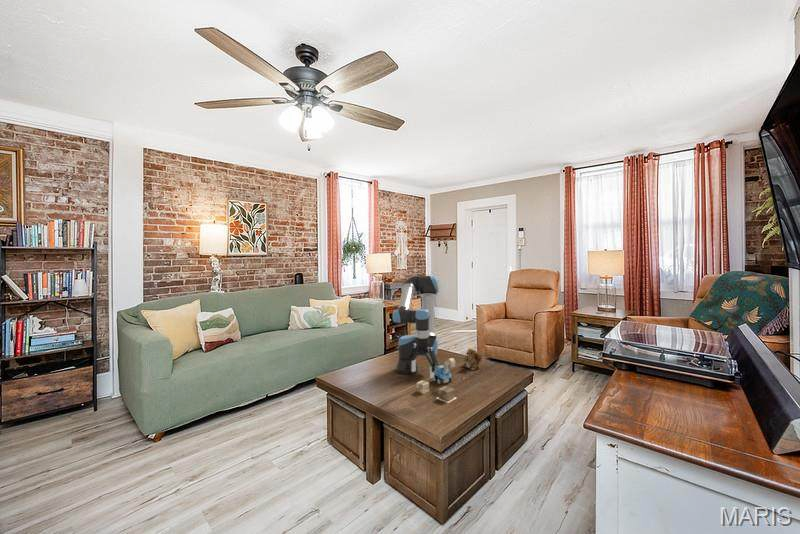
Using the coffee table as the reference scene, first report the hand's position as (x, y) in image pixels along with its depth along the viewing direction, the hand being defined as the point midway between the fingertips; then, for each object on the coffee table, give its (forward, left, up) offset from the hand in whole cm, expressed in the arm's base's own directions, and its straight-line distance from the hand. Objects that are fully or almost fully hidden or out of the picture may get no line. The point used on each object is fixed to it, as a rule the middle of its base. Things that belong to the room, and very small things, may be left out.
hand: (422, 374), depth 187 cm
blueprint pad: (+13, +4, -11) cm, 17 cm away
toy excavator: (+1, +19, -11) cm, 22 cm away
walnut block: (+15, +2, -10) cm, 18 cm away
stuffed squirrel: (-3, +55, -11) cm, 57 cm away
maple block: (0, 0, -11) cm, 11 cm away
